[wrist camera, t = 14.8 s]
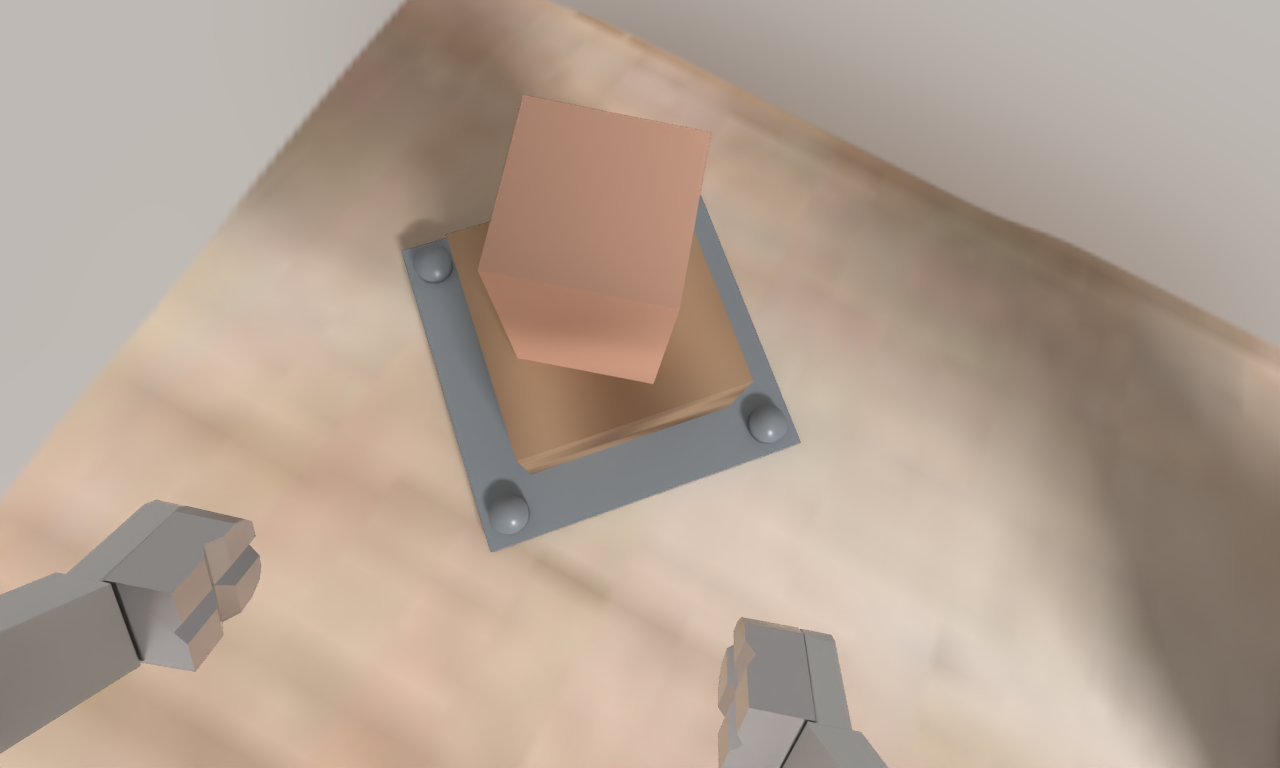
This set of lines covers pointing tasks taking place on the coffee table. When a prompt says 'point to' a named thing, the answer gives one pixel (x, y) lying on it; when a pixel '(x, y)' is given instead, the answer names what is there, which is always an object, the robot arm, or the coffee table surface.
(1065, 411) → the coffee table surface
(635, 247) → the terracotta block
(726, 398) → the walnut base brick
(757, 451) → the baseplate
